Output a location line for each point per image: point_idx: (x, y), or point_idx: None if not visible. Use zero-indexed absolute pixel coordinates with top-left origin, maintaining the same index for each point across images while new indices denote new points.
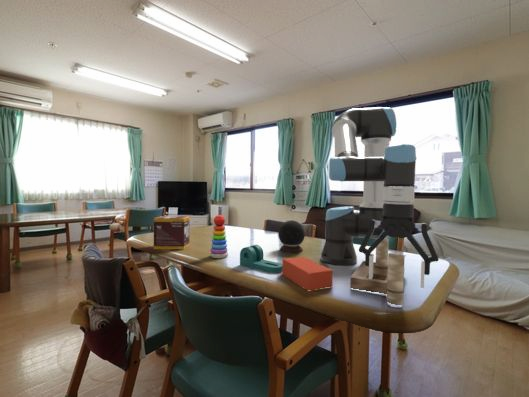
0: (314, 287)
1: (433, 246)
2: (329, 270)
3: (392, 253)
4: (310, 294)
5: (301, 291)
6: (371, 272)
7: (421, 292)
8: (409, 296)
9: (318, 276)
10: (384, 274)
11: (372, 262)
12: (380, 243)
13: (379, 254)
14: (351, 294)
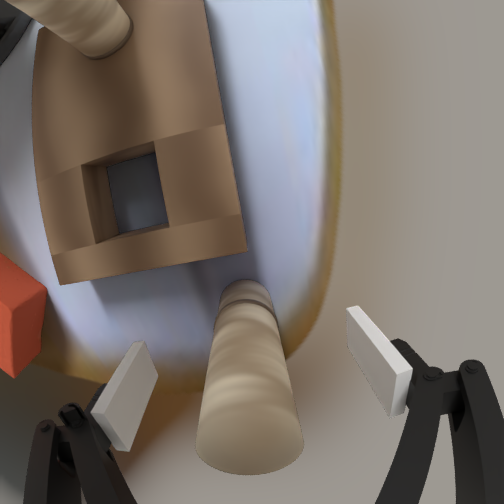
0: (36, 344)
1: (501, 412)
2: (10, 321)
3: (216, 440)
4: (54, 366)
5: (34, 360)
6: (149, 394)
7: (297, 105)
8: (269, 181)
9: (20, 350)
10: (139, 132)
11: (132, 414)
12: (31, 3)
13: (65, 32)
14: (107, 306)
